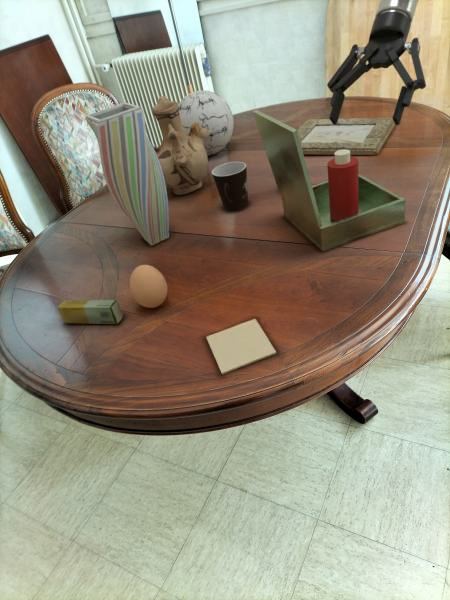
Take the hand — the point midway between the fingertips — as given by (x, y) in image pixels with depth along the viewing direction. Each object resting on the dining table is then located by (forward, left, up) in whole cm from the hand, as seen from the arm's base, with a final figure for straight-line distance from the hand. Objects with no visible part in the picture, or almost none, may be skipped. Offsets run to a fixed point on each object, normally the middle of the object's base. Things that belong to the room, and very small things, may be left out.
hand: (362, 121), depth 88 cm
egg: (-13, +53, -17) cm, 58 cm away
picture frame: (+39, -16, -17) cm, 45 cm away
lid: (-6, +20, -2) cm, 21 cm away
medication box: (-11, +65, -17) cm, 69 cm away
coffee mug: (+16, +27, -17) cm, 36 cm away
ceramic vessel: (+37, +35, -17) cm, 54 cm away
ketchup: (-6, +8, -16) cm, 19 cm away
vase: (+14, +48, -17) cm, 53 cm away
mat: (-32, +42, -17) cm, 56 cm away
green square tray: (-6, +9, -17) cm, 21 cm away
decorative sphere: (+62, +20, -17) cm, 68 cm away
